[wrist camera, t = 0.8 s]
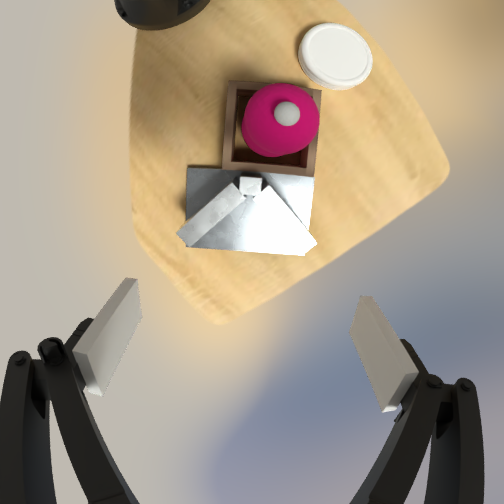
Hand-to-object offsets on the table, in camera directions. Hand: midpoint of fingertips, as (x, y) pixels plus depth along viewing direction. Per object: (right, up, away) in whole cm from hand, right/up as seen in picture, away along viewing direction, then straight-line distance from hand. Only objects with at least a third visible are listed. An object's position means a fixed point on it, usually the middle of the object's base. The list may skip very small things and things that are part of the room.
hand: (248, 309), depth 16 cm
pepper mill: (+3, +20, +20) cm, 28 cm away
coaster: (+11, +30, +16) cm, 36 cm away
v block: (0, +9, +24) cm, 25 cm away
